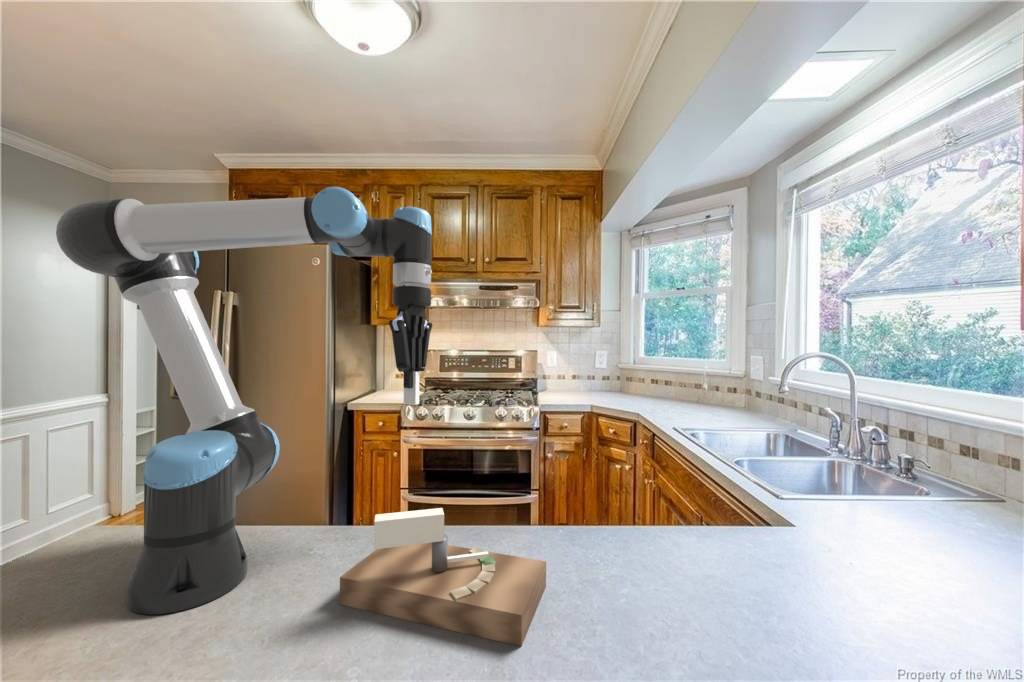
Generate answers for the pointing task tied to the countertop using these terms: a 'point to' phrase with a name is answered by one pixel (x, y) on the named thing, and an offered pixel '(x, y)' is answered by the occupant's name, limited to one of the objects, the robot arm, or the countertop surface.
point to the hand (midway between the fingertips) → (411, 403)
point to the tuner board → (449, 590)
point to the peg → (418, 534)
